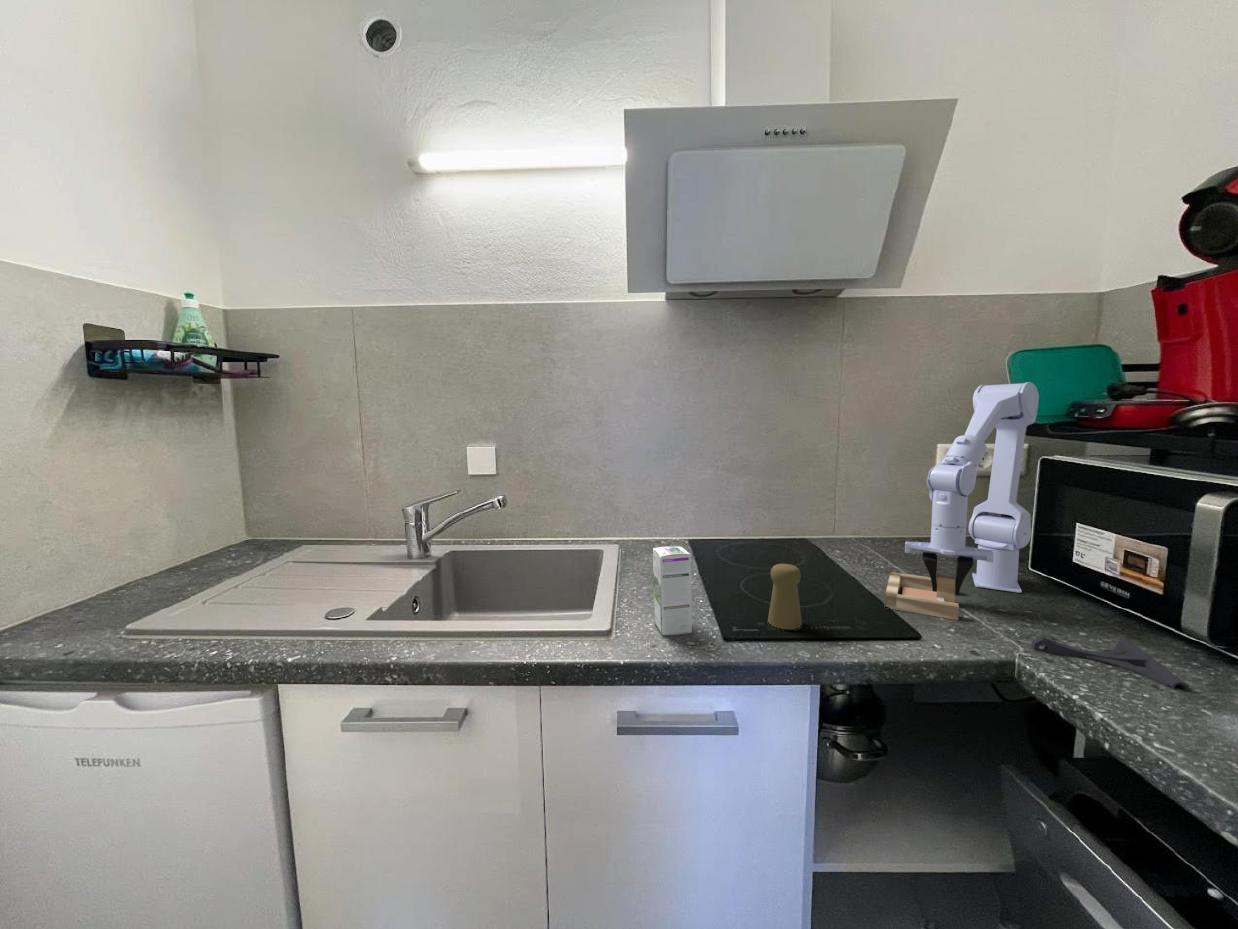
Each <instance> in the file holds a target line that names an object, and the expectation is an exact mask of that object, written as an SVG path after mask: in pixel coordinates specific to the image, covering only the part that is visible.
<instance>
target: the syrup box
mask: <svg viewBox="0 0 1238 929" xmlns="http://www.w3.org/2000/svg"><path fill="white" fill-rule="evenodd" d="M691 556H692V554H691V553H690V552H688V551H687V550H686V549H685V548H684V547H682V546H681V545H668V546H667V545H666V546H659V547H658V546H657V547H653V548H652V565H653V566H652V570H653V571H652V573H653V574H652V575H653V576H652V577H653V619H654V620H653V621H654V625H655V626H656V628H657V629H658V631H659V632H660V634H661V636H673V635H674V636H676V635H683V634H692V633H693V630H692V629H693V626H692V624H693V622H692V620H693V619H692V618H693V615H692V613H693V607H692V605H693V604H692V603H693V602H692V600H693V599H692V562H691V561H692V560H691Z"/></svg>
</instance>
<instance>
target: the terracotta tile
mask: <svg viewBox="0 0 1238 929" xmlns="http://www.w3.org/2000/svg"><path fill="white" fill-rule="evenodd" d="M901 595H906V596H913V597H919V598H926V599H932V600H937V594H936V592H934V591H929V590H922V589H915V588H908V587H902V593H901Z"/></svg>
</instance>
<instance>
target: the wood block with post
mask: <svg viewBox="0 0 1238 929" xmlns="http://www.w3.org/2000/svg"><path fill="white" fill-rule="evenodd" d="M936 578H937V592H936V594H937V600H939V601H945V602H952V603H956V595H955V579H956V574H955V575H954V574H947V573H940V572H939V573H938V572H936Z"/></svg>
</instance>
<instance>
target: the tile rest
mask: <svg viewBox="0 0 1238 929" xmlns="http://www.w3.org/2000/svg"><path fill="white" fill-rule="evenodd" d="M936 580H937V577H936ZM887 581H888V582H887V585H886V590H885V594H884V607H885V606H886V607H889V608H890V609H891V610H897V611H901V612H908V613H913V614H914V613H915V614H918V615H919V614H920V615H925V616H931V617H937V618H944V619H949V620H954V621H955V620H957V621H959V608H960V606H959V603H957V602H955V603H952V602H945V601H939V600H932V599H926V598H919V597H913V596H906V595H902V594H900V590H901V589H900V588H903V587H908V588H915V589H922V590H929V591H933V589H932V582H931V578H930V576H924V575H915V574H907V573H902V572H901V573H899V572H893V571H890V573H889V577H888V580H887ZM889 608H888V609H889Z"/></svg>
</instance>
